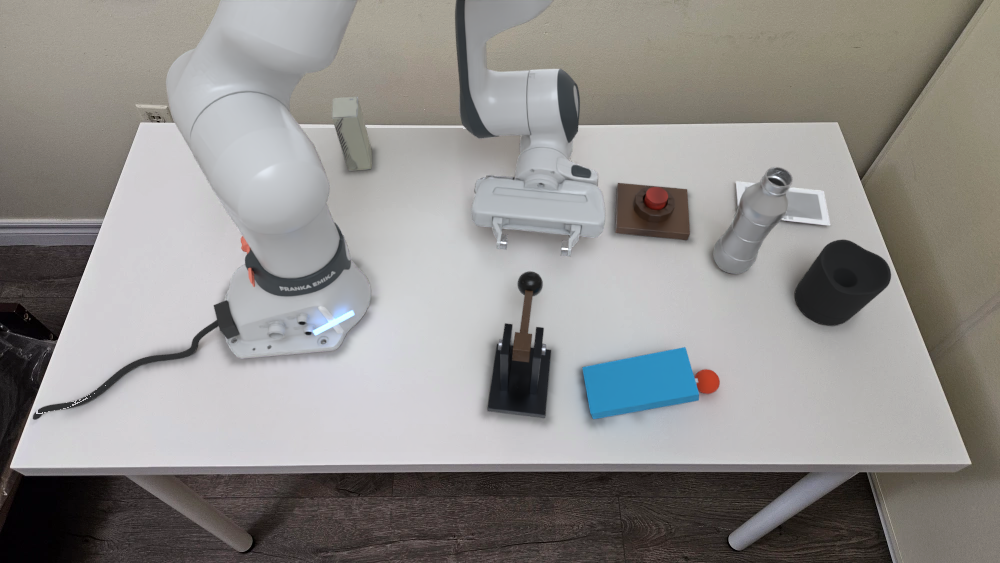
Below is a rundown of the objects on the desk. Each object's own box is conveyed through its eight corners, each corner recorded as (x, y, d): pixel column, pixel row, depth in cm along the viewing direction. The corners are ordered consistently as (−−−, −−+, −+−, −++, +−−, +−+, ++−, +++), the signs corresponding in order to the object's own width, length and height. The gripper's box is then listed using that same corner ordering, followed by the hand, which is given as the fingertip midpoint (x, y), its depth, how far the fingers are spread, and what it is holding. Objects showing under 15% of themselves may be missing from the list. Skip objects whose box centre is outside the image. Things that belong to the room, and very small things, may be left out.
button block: (615, 233, 97) (618, 220, 94) (616, 189, 102) (619, 175, 99) (687, 240, 96) (693, 227, 93) (684, 195, 101) (690, 181, 98)
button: (644, 209, 96) (646, 202, 94) (643, 192, 98) (646, 185, 96) (665, 211, 95) (668, 204, 94) (665, 194, 97) (667, 187, 96)
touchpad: (733, 185, 103) (737, 176, 101) (820, 194, 101) (826, 186, 99) (736, 219, 98) (740, 210, 97) (827, 229, 97) (833, 221, 95)
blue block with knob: (597, 429, 83) (726, 406, 80) (590, 413, 77) (728, 389, 74) (589, 384, 87) (712, 361, 83) (582, 367, 81) (713, 341, 78)
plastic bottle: (747, 246, 95) (799, 160, 78) (752, 281, 92) (808, 197, 75) (707, 243, 96) (751, 156, 79) (711, 277, 92) (758, 194, 75)
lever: (518, 282, 83) (519, 264, 81) (542, 284, 83) (544, 267, 80) (506, 362, 74) (507, 345, 71) (534, 365, 73) (536, 349, 71)
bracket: (497, 347, 85) (496, 302, 75) (550, 353, 85) (557, 309, 74) (487, 411, 80) (485, 373, 69) (544, 418, 79) (551, 381, 69)
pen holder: (807, 333, 86) (839, 298, 78) (781, 281, 91) (809, 243, 83) (865, 324, 87) (904, 289, 79) (836, 273, 92) (869, 235, 84)
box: (349, 152, 108) (331, 96, 97) (372, 150, 108) (358, 94, 97) (348, 172, 105) (330, 117, 94) (372, 170, 105) (357, 115, 94)
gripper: (476, 160, 89) (462, 230, 82) (608, 172, 88) (606, 244, 81) (477, 188, 95) (464, 255, 87) (602, 200, 93) (599, 269, 86)
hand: (533, 250), depth 84 cm, fingers open, 8 cm apart
